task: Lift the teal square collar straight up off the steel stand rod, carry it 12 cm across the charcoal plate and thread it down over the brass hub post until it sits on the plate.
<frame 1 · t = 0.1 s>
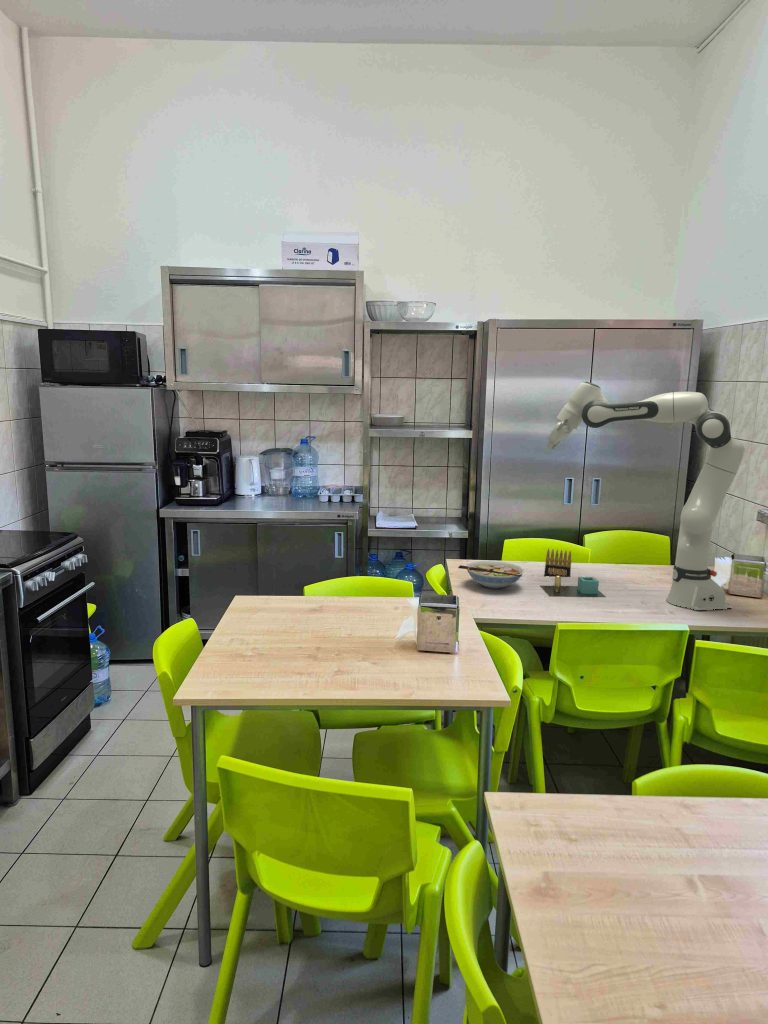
hand: (549, 449, 270), 54 cm above the table, tool tilted 30°, fingers open, 8 cm apart
ramen bowl: (493, 586, 270), on the table
ammunition clip: (557, 577, 286), on the table
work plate: (572, 593, 263), on the table
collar: (587, 591, 264), point 1 cm above the table, touching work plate
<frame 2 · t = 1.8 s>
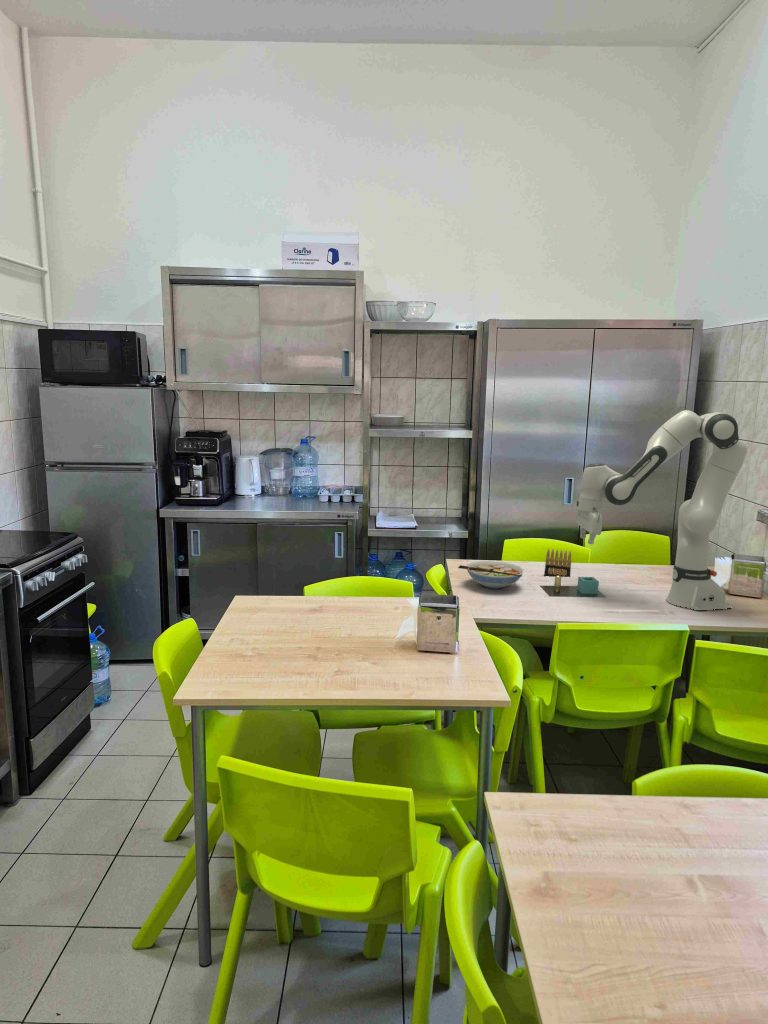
hand: (586, 541, 261), 21 cm above the table, tool pointing down, fingers open, 8 cm apart
nothing on the table moved.
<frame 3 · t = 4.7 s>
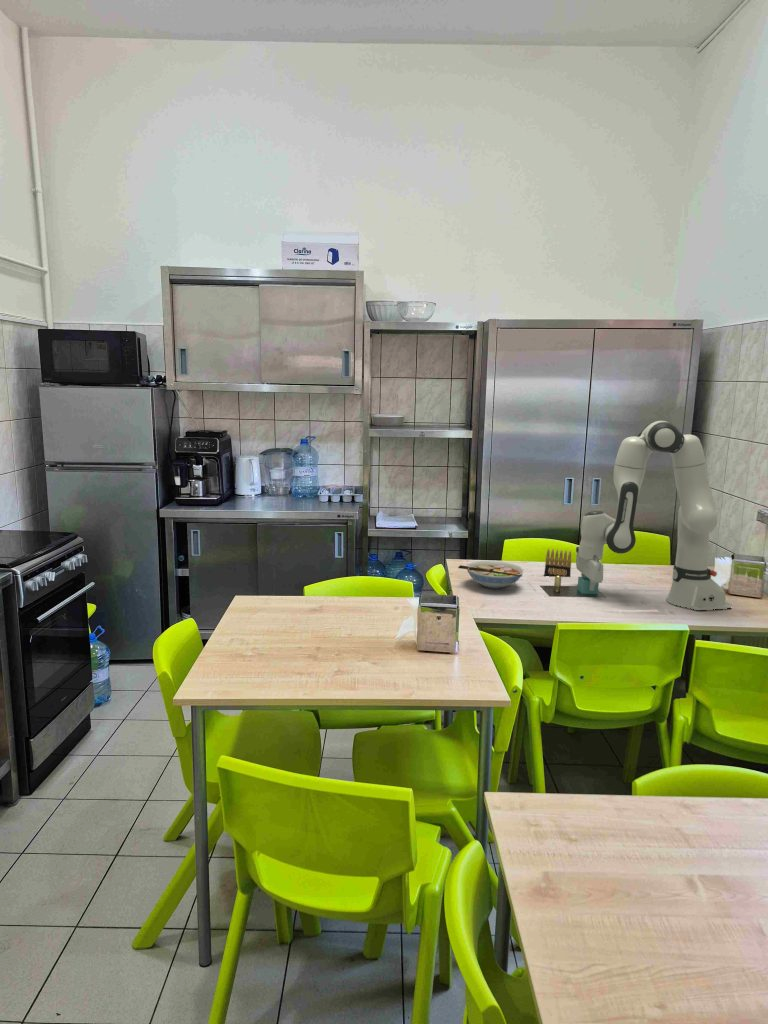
hand: (587, 587, 263), 3 cm above the table, tool pointing down, fingers closed on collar, 6 cm apart
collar: (587, 591, 264), point 1 cm above the table, touching gripper, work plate
everything else where it was.
when the fingers open (3 cm above the table, at t = 11.5 s): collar stays where it is, resting on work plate.
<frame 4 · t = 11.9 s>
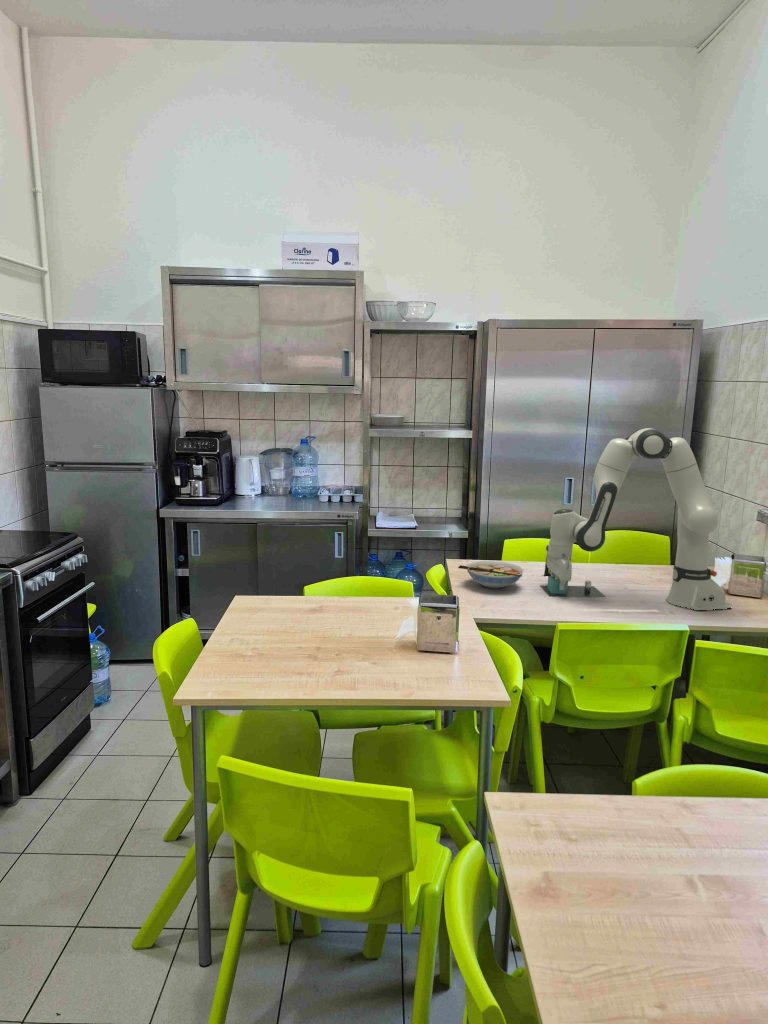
hand: (557, 585, 263), 3 cm above the table, tool pointing down, fingers open, 8 cm apart
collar: (557, 591, 263), point 1 cm above the table, touching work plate
everything else where it was.
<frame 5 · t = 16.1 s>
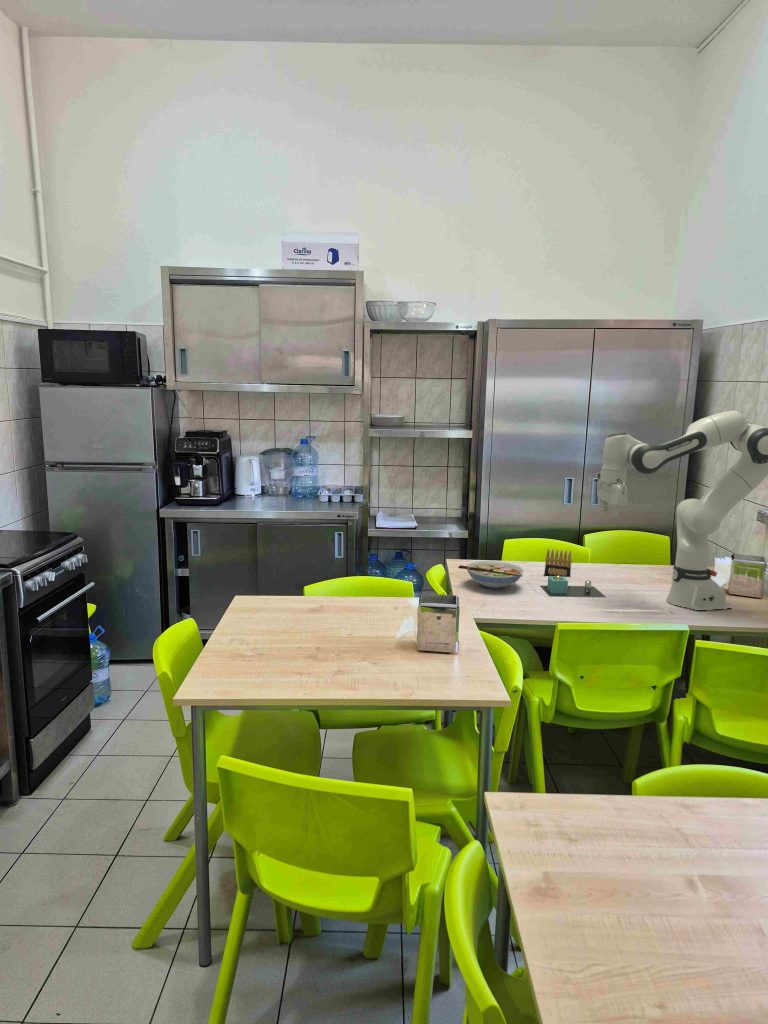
hand: (609, 514, 250), 33 cm above the table, tool pointing down, fingers open, 8 cm apart
nothing on the table moved.
at the end: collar 0.0 cm from the target spot on the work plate, point 1.0 cm above the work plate's base; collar tilted 0°; the gripper is holding nothing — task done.
